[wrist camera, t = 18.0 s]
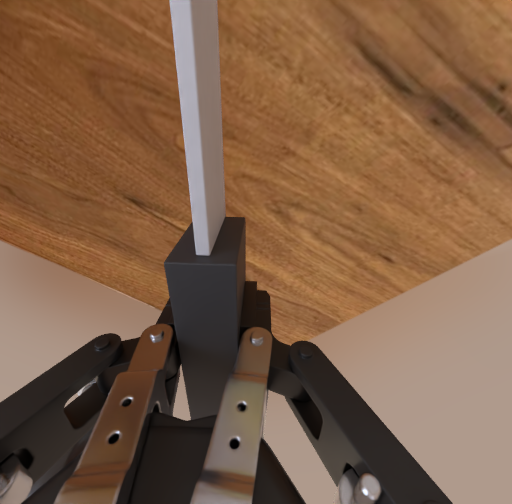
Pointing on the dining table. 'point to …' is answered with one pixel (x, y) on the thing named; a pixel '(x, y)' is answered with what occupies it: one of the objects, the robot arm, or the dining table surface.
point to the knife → (204, 220)
